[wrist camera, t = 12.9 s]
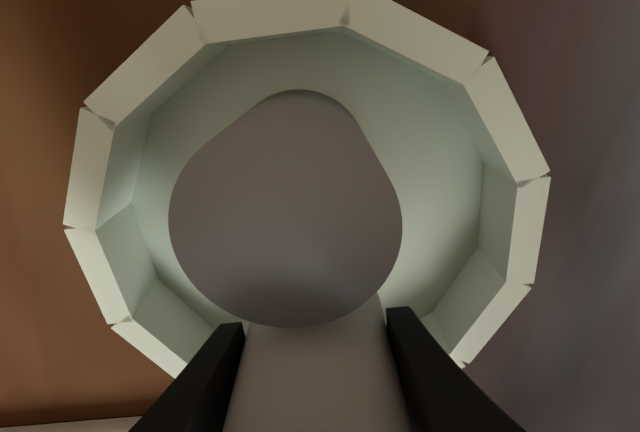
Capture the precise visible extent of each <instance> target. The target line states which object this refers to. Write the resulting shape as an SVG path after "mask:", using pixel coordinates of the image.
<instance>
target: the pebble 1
mask: <svg viewBox="0 0 640 432" xmlns="http://www.w3.org/2000/svg"><path fill="white" fill-rule="evenodd" d="M168 227H169V235H170V240H171V244H172V247H173V250H174V253H175V256H176V258H177V260H178V262H179V264H180V266H181V268H182V270H183V271H184V273H185V274H186V276H187V277H188V279H189V280H190V281H191V283H192V284H193V285H194V286H195V287H196V288H197V290H198V291H199V292H201V293H202V294H203V295H204V296H205V297H206V298H207V299H208V300H210V301H211V302H212V303H214V304H215V305H216V306H218V307H219V308H221V309H223V310H225V311H226V312H228V313H230V314H232V315H234V316H236V317H239V318H241V319H243V320H246V321H249V322H252V323H256V324H260V325H265V326H270V327H279V328H301V327H310V326H315V325H320V324H324V323H327V322H330V321H333V320H336V319H338V318H340V317H343V316H345V315H347V314H349V313H350V312H352V311H354V310H355V309H357V308H359V307H360V306H361V305H363V304H364V303H365V302H367V301H368V300H369V299H370V298H371V297H372V296H373V295H374V294H375V293H376V292H377V291H378V290H379V289H380V288H381V286H382V285H383V284H384V282H385V281H386V280H387V278H388V276H389V275H390V273H391V271H392V270H393V267H394V265H395V262H396V260H397V258H398V254H399V250H400V247H401V240H402V231H403V229H402V214H401V209H400V203H399V200H398V197H397V194H396V191H395V189H394V187H393V185H392V183H391V181H390V179H389V177H388V175H387V174H386V172H385V170H384V168H383V166H382V165H381V163H380V161H379V159H378V158H377V156H376V154H375V152H374V151H373V149H372V147H371V145H370V144H369V142H368V140H367V138H366V136H365V135H364V133H363V131H362V129H361V128H360V126H359V124H358V122H357V121H356V119H355V118H354V117H353V115H352V114H351V113H350V112H349V111H348V110H347V109H346V108H345V107H344V106H343V105H342V104H340V103H339V102H338V101H336V100H335V99H333V98H331V97H329V96H327V95H325V94H322V93H319V92H316V91H311V90H304V89H293V90H286V91H282V92H278V93H275V94H273V95H271V96H268V97H267V98H265V99H263V100H262V101H260V102H259V103H257V104H256V105H255V106H254V107H252V108H251V109H250V110H248V111H247V112H246V113H244V114H243V115H242V116H241V117H239V118H238V119H237V120H235V121H234V122H233V123H232V124H230V125H229V126H228V127H226V128H225V129H224V130H223V131H221V132H220V133H219V134H217V135H216V136H215V137H213V138H212V139H211V140H210V141H208V142H207V143H206V144H205V145H204V146H202V147H201V148H200V149H199V150H198V151H197V152H196V153H195V154H194V155H193V156H192V157H191V159H190V160H189V161H188V162H187V163H186V165H185V167H184V168H183V170H182V171H181V173H180V174H179V176H178V179H177V181H176V183H175V185H174V188H173V191H172V195H171V199H170V202H169V212H168Z"/></svg>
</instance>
